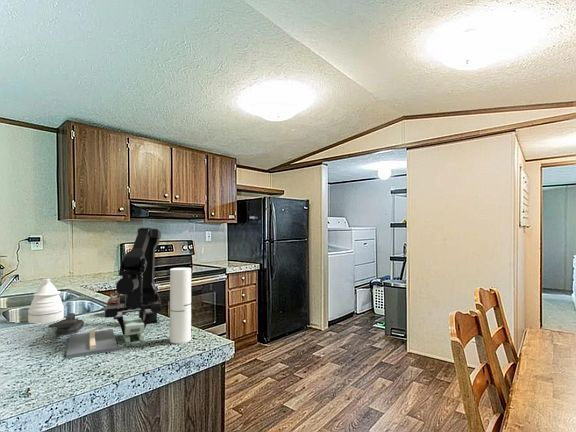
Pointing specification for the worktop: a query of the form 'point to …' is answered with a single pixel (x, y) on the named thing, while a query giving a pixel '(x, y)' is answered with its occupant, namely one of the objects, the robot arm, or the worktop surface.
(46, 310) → the honey pot
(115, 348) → the cleat board
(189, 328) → the cylindrical container
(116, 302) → the cupcake
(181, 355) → the worktop surface
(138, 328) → the cabinet block
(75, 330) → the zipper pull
